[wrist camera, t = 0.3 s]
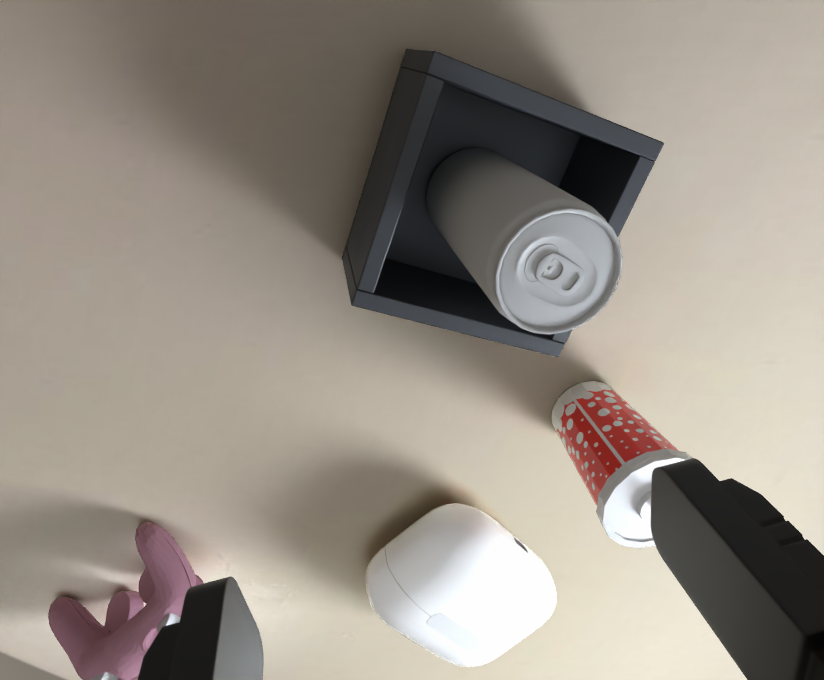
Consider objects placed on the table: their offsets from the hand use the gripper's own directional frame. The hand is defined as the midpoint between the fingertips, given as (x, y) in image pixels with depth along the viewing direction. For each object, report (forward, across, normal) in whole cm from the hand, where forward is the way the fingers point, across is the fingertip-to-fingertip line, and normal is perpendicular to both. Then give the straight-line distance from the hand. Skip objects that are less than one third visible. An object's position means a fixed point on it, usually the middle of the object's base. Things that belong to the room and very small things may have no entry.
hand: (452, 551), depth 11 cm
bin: (+22, -6, 0) cm, 23 cm away
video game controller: (+22, +19, +20) cm, 35 cm away
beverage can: (+22, -6, 0) cm, 23 cm away
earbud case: (+22, -2, +26) cm, 34 cm away
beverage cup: (+22, -12, +16) cm, 30 cm away
